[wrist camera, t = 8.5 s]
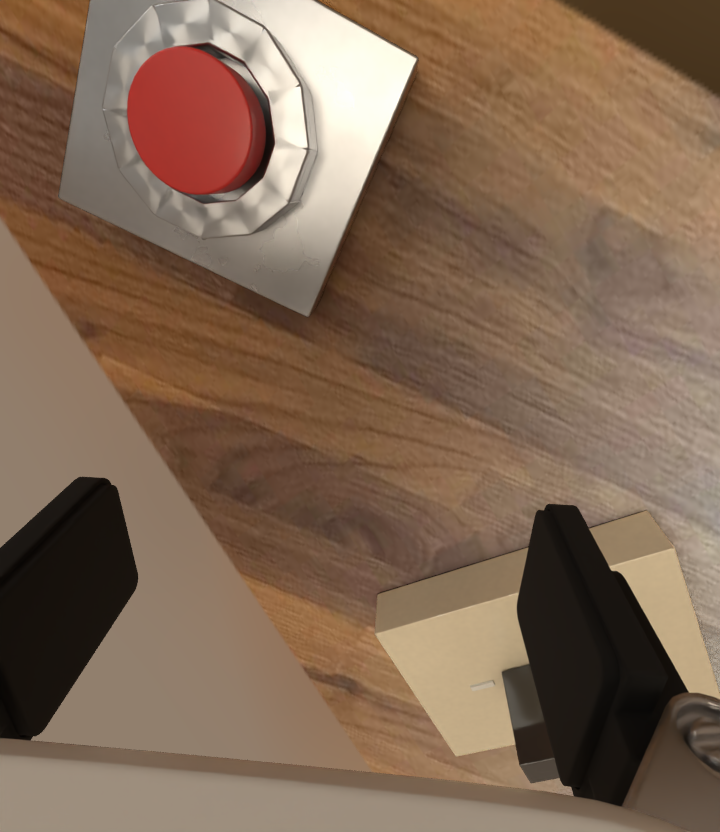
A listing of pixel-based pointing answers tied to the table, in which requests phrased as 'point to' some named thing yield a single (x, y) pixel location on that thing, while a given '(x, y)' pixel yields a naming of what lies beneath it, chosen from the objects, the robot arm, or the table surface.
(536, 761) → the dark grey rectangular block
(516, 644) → the beige lever switch base
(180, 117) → the button
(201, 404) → the table surface
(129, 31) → the button housing
